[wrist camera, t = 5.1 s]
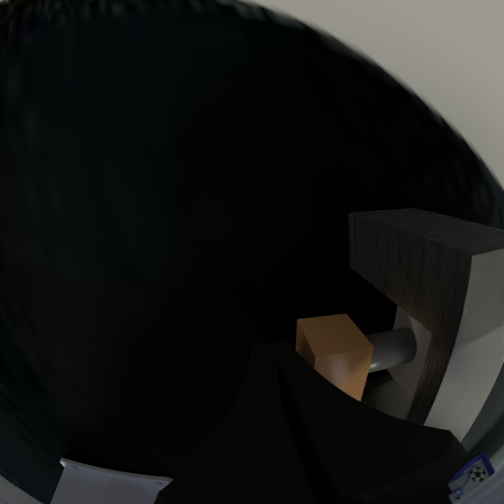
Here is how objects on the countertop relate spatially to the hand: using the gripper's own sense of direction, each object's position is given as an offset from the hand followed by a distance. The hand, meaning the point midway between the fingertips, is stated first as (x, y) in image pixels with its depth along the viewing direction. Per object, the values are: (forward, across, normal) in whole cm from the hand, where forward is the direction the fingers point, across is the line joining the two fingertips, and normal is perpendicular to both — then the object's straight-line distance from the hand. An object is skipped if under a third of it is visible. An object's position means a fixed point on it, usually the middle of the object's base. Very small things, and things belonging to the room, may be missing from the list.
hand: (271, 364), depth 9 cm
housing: (+1, -5, +4) cm, 6 cm away
